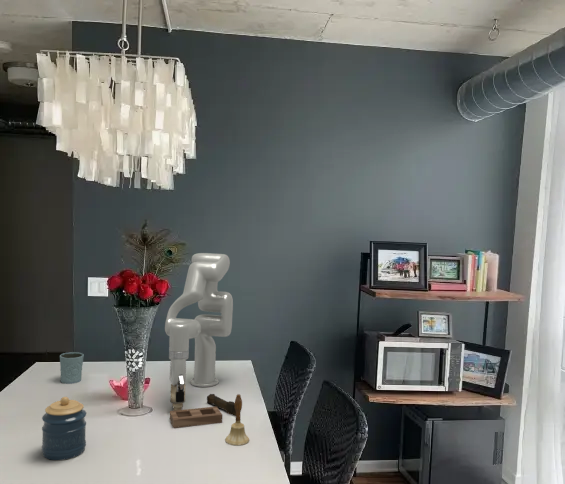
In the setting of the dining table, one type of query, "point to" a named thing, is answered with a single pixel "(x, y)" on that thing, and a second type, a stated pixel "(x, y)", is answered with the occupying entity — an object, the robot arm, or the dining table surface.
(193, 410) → the walnut board
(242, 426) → the hand bell
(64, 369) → the grey embossed cup
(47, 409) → the canister
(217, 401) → the hand tool
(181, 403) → the oak peg
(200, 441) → the dining table surface
